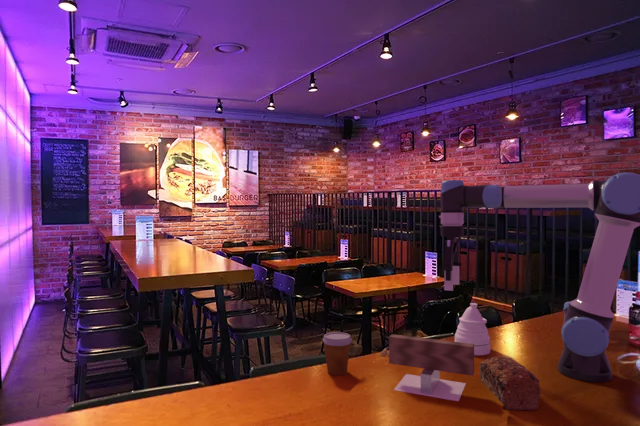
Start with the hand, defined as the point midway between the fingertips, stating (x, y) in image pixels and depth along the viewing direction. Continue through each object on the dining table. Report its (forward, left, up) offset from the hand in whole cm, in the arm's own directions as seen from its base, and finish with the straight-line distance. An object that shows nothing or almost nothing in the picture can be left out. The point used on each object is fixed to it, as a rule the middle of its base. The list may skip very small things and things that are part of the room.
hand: (452, 287), depth 153 cm
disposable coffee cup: (+33, +23, -27) cm, 48 cm away
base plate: (+2, +26, -27) cm, 37 cm away
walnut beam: (+2, +26, -20) cm, 33 cm away
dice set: (+23, -1, -28) cm, 36 cm away
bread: (-18, +20, -27) cm, 38 cm away
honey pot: (-4, -21, -27) cm, 34 cm away
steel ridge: (+2, +26, -25) cm, 36 cm away
